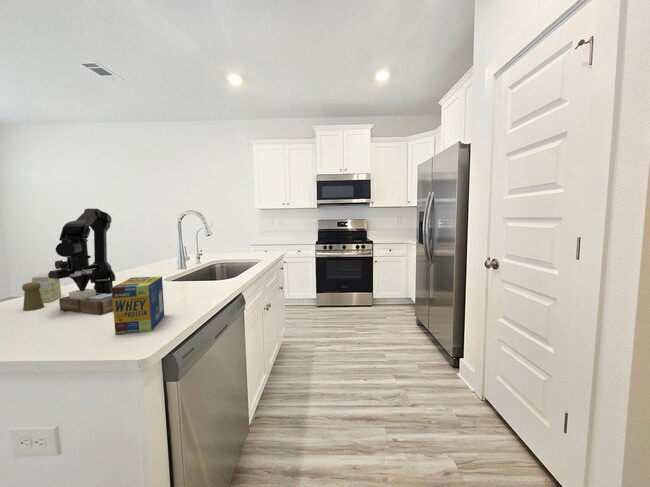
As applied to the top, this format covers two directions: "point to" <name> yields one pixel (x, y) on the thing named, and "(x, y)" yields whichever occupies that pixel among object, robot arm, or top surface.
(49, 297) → the box
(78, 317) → the top surface
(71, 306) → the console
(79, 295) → the cream block
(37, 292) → the cork
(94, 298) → the slate key
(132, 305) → the protein box
